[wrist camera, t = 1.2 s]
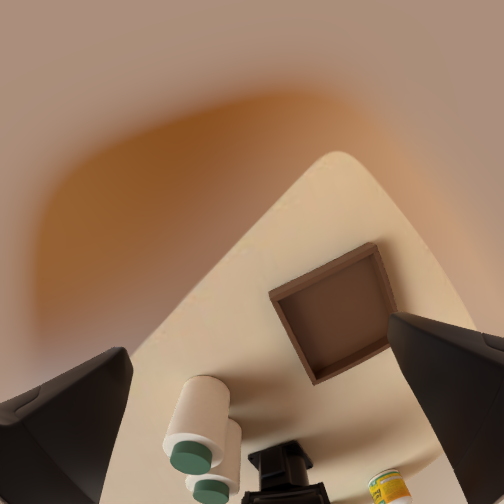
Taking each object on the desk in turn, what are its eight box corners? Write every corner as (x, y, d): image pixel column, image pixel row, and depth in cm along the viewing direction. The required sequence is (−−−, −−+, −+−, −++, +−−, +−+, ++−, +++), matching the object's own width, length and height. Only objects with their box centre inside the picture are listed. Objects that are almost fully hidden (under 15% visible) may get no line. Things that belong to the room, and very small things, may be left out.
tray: (397, 330, 26) (405, 338, 24) (310, 375, 26) (313, 386, 24) (367, 242, 24) (376, 244, 22) (268, 291, 25) (269, 298, 23)
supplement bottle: (395, 480, 30) (413, 519, 21) (365, 490, 30) (380, 532, 21) (401, 464, 29) (422, 505, 20) (369, 474, 29) (387, 519, 20)
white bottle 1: (238, 403, 27) (234, 475, 17) (198, 416, 27) (182, 484, 17) (215, 368, 26) (200, 439, 16) (173, 383, 26) (146, 450, 17)
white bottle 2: (249, 438, 28) (248, 505, 18) (212, 447, 28) (202, 511, 18) (228, 410, 27) (220, 481, 17) (189, 422, 27) (171, 488, 17)
